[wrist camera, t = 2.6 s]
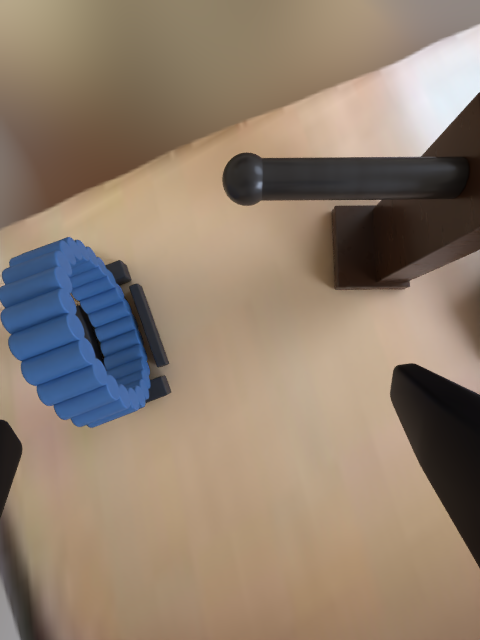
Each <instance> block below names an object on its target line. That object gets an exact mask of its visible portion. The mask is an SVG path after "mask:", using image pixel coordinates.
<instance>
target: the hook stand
mask: <svg viewBox="0 0 480 640" xmlns="http://www.w3.org/2000/svg"><path fill="white" fill-rule="evenodd" d="M222 181H223V187H224V190H225V192H226V194H227V196H228V197H229V198H230V199H231V200H232V201H233V202H235V203H237V204H239V205H243V206H250V205H254V204H256V203H258V202H260V201H274V200H381V201H380V202H379V204H378V205H377V206H335V207H334V209H333V210H332V225H333V250H334V275H335V289H336V290H361V289H405V288H408V287H410V282H409V281H410V280H412V279H415V278H417V277H419V276H421V275H424V274H426V273H428V272H430V271H433V270H435V269H437V268H440V267H442V266H444V265H446V264H449V263H451V262H453V261H455V260H458V259H460V258H462V257H464V256H467V255H469V254H471V253H473V252H476V251H478V250H480V93H478V94H477V95H476V97H475V98H474V99H473V100H472V101H471V102H470V103H469V104H468V105H467V106H466V108H465V109H464V110H463V111H462V112H461V113H460V114H459V115H458V116H457V117H456V119H455V120H454V121H453V122H452V123H451V124H450V125H449V126H448V127H447V129H446V130H445V131H444V132H443V133H442V134H441V135H440V136H439V137H438V138H437V140H436V141H435V142H434V143H433V144H432V145H431V146H430V147H429V148H428V149H427V151H426V152H425V153H424V154H423V155H422V156H421V157H343V158H261V157H260V156H258V155H256V154H253V153H241V154H238V155H236V156H234V157H233V158H232V159H231V160H230V161H229V162H228V163H227V165H226V167H225V169H224V172H223V178H222Z"/></svg>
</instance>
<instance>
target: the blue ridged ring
mask: <svg viewBox="0 0 480 640" xmlns="http://www.w3.org/2000/svg"><path fill="white" fill-rule="evenodd" d="M9 265H10V267H9V268H6V269H4V271H3V272H2V278H3V281H4V283H5V285H4V286H2V287H0V301H1V303H2V305H3V306H4V307H5V309H4V310H3V311H2V312H1V321H2V324H3V326H4V328H5V329H6V330H7V331H8V332H9V333H10V334H12V335H11V336H10V337H9V340H8V344H9V348H10V351H11V352H12V354H13V355H14V356H15V357H16V358H17V359H18V360H20V361H22V363H21V371H22V374H23V377H24V378H25V380H26V381H27V382H28V383H29V384H31V385H34V386H37V393H38V396H39V398H40V400H41V401H42V402H43V403H44V404H45V405H47V406H52V405H54V409H55V412H56V414H57V415H58V416H59V417H60V418H61V419H63V420H67V419H70V418H71V420H72V422H73V424H74V425H76V426H77V427H82V426H84V425H87V426H88V427H90V428H93V427H96V426H98V425H101V424H104V423H106V422H109V421H111V420H114V419H117V418H119V417H122V416H124V415H127V414H129V413H132V412H135V411H137V410H138V409H140V408H143V407H144V406H145V400H147V399H148V398H149V391H148V389H149V388H150V386H151V385H150V379H149V375H150V369H149V366H148V363H147V353H146V350H145V348H144V347H143V345H144V341H143V338H142V335H141V333H140V332H139V330H138V323H137V321H136V319H135V317H134V316H133V314H132V311H131V307H130V305H129V303H128V301H127V300H126V299H124V294H123V291H122V289H121V288H120V286H119V285H118V284H116V282H115V279H114V276H113V275H112V273H111V272H110V271H109V270H108V269H106V267H105V264H104V263H103V261H102V260H101V259H100V258H99V257H96V255H95V253H94V252H93V251H92V249H91V248H90V247H85V246H84V244H83V243H82V242H81V241H80V240H75V241H74V240H73V239H72V238H70V237H67V238H64V239H62V240H59V241H56V242H53V243H51V244H48V245H45V246H42V247H40V248H37V249H34V250H32V251H29V252H26V253H23V254H22V255H19V256H17V257H14V258H12V259H11V260H10V262H9ZM70 293H72V295H73V297H74V298H75V299H76V300H78V301H80V305H81V307H82V309H83V310H84V311H85V312H86V313H87V314H88V317H89V320H90V322H91V324H92V325H93V327H95V333H96V336H97V338H98V340H99V341H100V342H101V344H100V347H101V351H102V353H103V355H104V357H105V358H104V365H105V367H104V365H103V363H102V362H101V361H100V360H99V359H96V358H95V352H94V349H93V347H92V345H91V344H90V342H89V341H88V340H87V339H86V338H84V328H83V326H82V323H81V321H80V320H79V318H78V317H77V316H76V315H75V314H76V305H75V302H74V300H73V298H72V296H71V295H70ZM105 368H106V369H105ZM106 370H107V371H106Z"/></svg>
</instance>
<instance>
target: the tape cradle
mask: <svg viewBox="0 0 480 640" xmlns="http://www.w3.org/2000/svg"><path fill="white" fill-rule="evenodd" d="M105 267H106V269H108V270H109V271H110V272H111V273H112V275H113V276H114V279H115V282H116V284H118V285H121V284H123V283H126V282H129V281H131V277H130V274H129V271H128V268H127V265H126V264H124V263H123V262H122V261H121V260H119V261H116V262H113V263H110V264H108V265H105ZM129 288H130V291H131V294H132V296H133V299H134V302H135V305H136V308H137V311H138V314H139V316H140V319H141V322H142V325H143V328H144V331H145V333H146V336H147V339H148V342H149V345H150V348H151V350H152V353H153V356H154V359H155V362H156V365H157V367H162V366H165V365H168V364H169V361H168V358H167V356H166V353H165V350H164V347H163V344H162V342H161V339H160V336H159V333H158V330H157V328H156V325H155V322H154V319H153V316H152V314H151V311H150V308H149V305H148V302H147V300H146V297H145V294H144V291H143V288H142V286H140V285H139V284H134V285H131V286H129ZM75 315H76V316H77V317H78V318H79V320H80V321H81V323H82V326H83V328H84V338H86V339H87V340H88V341H89V342H90V344H91V345H92V347H93V349H94V352H95V358H96V359H99V360H100V361H101V362H102V363H103V365H104V361H103V358H102V355H101V352H100V349H99V346H98V343H97V340H96V337H95V334H94V331H93V328H92V325H91V322H90V320H89V317H88V314H87V313H86V312H85V311H84V310H83V309H82V307H81V306H79V305H78V306H76V314H75ZM104 367H105V365H104ZM105 369H106V368H105ZM106 371H107V370H106ZM150 385H151V386H150V388H149V389H148V391H149V398H148V399H147V400H145V403H147V402H150V401H152V400H155V399H157V398H160V397H163V396H165V395H167V394H169V393H171V390H170V387H169V384H168V381H167V378H166V376H161V377H158V378H155V379H153V380H150Z"/></svg>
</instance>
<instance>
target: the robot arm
mask: <svg viewBox="0 0 480 640" xmlns="http://www.w3.org/2000/svg"><path fill="white" fill-rule="evenodd" d="M390 397H391V401H392V404H393V406H394V408H395V411H396V413H397V415H398V417H399V419H400V422H401V424H402V426H403V428H404V431H405V433H406V435H407V437H408V440H409V442H410V444H411V446H412V449H413V451H414V453H415V455H416V457H417V459H418V461H419V463H420V465H421V467H422V469H423V471H424V473H425V474H426V476H427V478H428V480H429V481H430V483H431V485H432V487H433V488H434V490H435V492H436V493H437V495H438V497H439V499H440V500H441V502H442V504H443V506H444V507H445V509H446V511H447V512H448V514H449V516H450V518H451V519H452V521H453V523H454V525H455V526H456V528H457V530H458V531H459V533H460V535H461V537H462V538H463V540H464V542H465V544H466V545H467V547H468V549H469V550H470V552H471V554H472V556H473V557H474V559H475V561H476V563H477V564H478V566H479V568H480V395H479V394H477V393H475V392H473V391H471V390H469V389H467V388H465V387H462V386H460V385H458V384H456V383H454V382H452V381H450V380H448V379H446V378H444V377H442V376H440V375H437V374H435V373H433V372H431V371H429V370H427V369H425V368H423V367H421V366H419V365H417V364H413V363H411V364H403V365H397V366H396V367H395V368H394V370H393V376H392V383H391V390H390ZM21 455H22V444H21V442H20V440H19V439H18V437H17V436H16V434H15V433H14V431H13V430H12V428H11V427H10V425H9V424H8V422H6V421H4V420H0V518H1V515H2V512H3V509H4V506H5V503H6V500H7V497H8V494H9V491H10V488H11V485H12V482H13V479H14V476H15V473H16V470H17V467H18V464H19V461H20V458H21Z"/></svg>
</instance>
